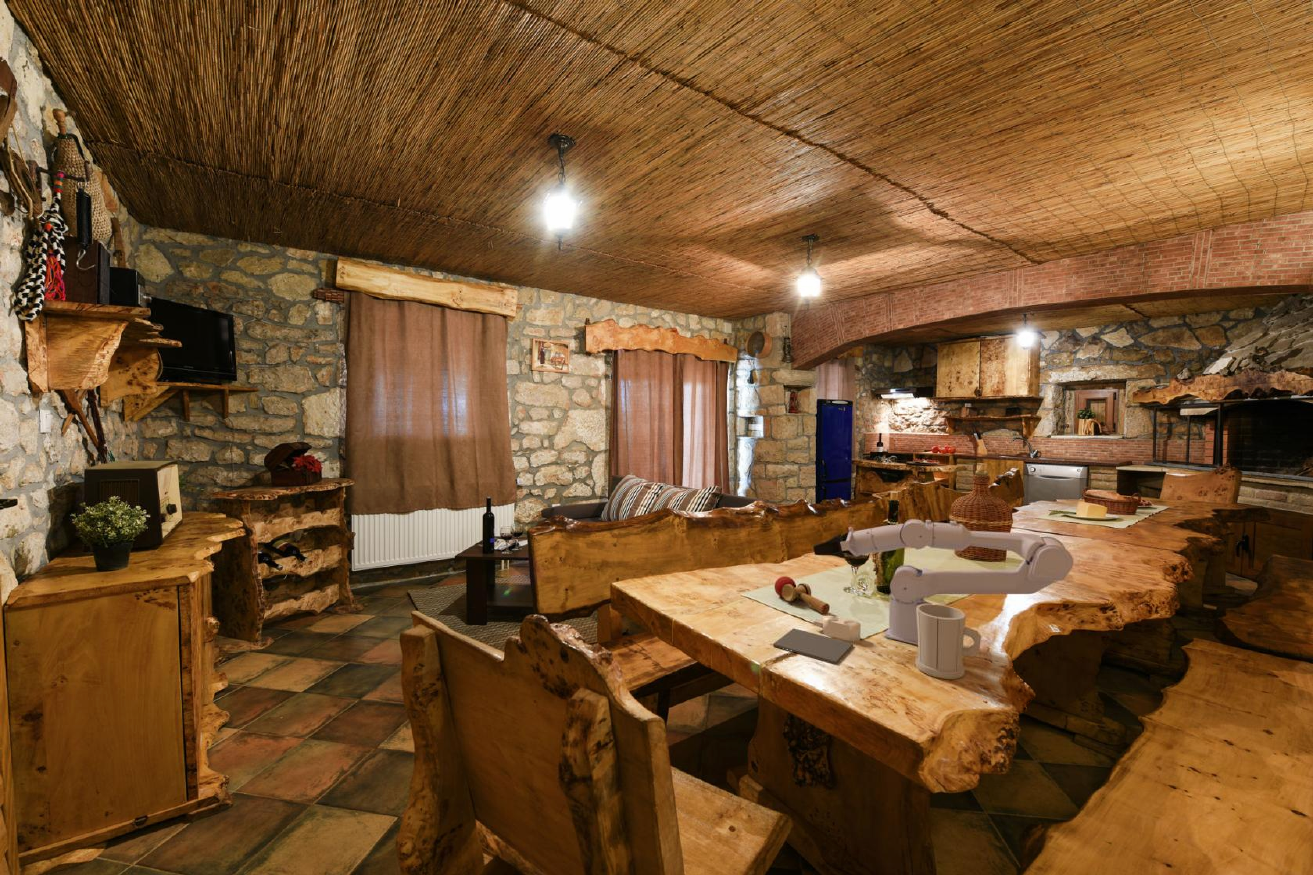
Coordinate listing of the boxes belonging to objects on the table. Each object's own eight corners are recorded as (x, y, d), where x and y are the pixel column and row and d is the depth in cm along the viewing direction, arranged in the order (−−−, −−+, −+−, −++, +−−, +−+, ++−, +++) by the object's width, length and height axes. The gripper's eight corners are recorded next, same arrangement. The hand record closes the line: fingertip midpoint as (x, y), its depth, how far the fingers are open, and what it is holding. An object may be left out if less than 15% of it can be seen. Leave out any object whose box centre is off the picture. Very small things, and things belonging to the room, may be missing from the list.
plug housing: (862, 638, 123) (862, 622, 123) (857, 643, 120) (857, 627, 120) (817, 627, 129) (817, 612, 129) (811, 631, 127) (812, 616, 126)
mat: (853, 646, 119) (853, 643, 119) (835, 664, 110) (836, 661, 110) (793, 630, 127) (793, 628, 127) (773, 646, 118) (773, 643, 118)
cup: (955, 659, 112) (956, 602, 112) (983, 680, 103) (985, 619, 103) (906, 659, 112) (907, 603, 111) (930, 681, 103) (931, 620, 102)
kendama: (837, 615, 141) (788, 587, 156) (837, 594, 139) (788, 568, 154) (815, 626, 137) (768, 596, 152) (815, 604, 135) (767, 576, 151)
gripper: (875, 522, 134) (822, 532, 140) (864, 524, 121) (806, 534, 128) (883, 550, 132) (828, 559, 139) (872, 555, 120) (813, 564, 126)
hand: (818, 549), depth 133 cm, fingers open, 7 cm apart
